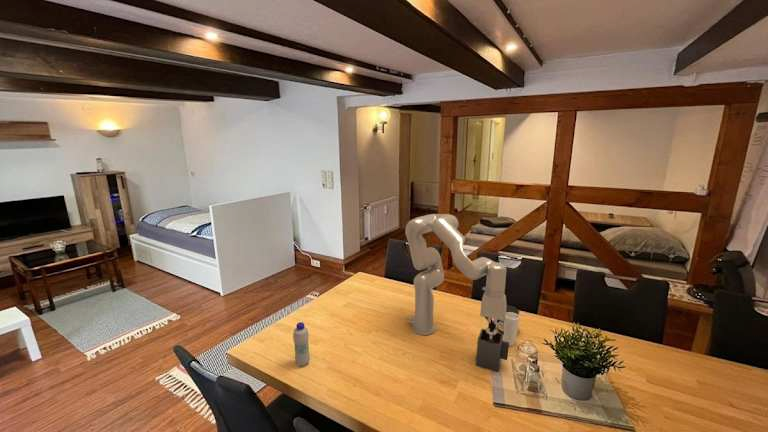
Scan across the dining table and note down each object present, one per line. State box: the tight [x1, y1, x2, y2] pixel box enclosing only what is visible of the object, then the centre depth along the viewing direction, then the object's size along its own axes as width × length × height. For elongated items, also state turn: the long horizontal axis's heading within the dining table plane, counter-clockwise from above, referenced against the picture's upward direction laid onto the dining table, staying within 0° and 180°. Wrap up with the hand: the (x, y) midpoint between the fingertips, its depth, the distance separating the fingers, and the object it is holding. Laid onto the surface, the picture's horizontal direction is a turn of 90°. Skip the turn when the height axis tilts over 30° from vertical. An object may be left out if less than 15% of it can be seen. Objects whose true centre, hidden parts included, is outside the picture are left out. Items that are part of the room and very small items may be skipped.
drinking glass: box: [503, 312, 520, 347], centre depth 162 cm, size 7×7×15 cm
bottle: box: [292, 321, 311, 367], centre depth 147 cm, size 7×7×20 cm
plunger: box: [485, 327, 498, 342], centre depth 147 cm, size 7×7×12 cm
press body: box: [475, 328, 510, 373], centre depth 148 cm, size 12×10×13 cm
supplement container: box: [496, 304, 521, 334], centre depth 173 cm, size 10×10×12 cm
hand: (491, 330), depth 146 cm, fingers closed
